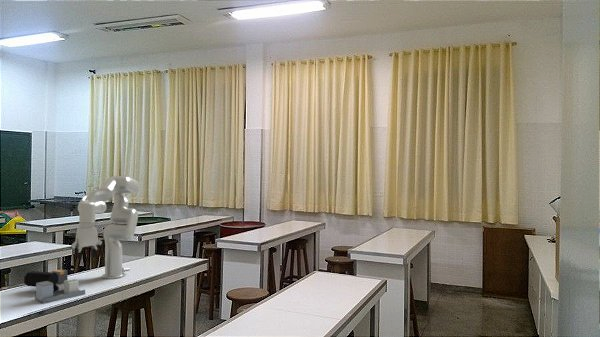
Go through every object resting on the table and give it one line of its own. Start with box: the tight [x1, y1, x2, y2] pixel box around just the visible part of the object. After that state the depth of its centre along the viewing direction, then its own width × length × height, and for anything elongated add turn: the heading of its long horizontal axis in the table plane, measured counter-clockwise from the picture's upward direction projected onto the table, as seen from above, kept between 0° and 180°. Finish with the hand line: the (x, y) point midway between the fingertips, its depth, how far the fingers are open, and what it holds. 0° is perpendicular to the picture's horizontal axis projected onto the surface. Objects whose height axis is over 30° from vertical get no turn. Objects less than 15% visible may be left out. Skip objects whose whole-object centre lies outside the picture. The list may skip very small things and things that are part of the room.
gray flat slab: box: [34, 288, 86, 305], centre depth 213 cm, size 20×10×2 cm, turn 142°
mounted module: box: [35, 281, 53, 301], centre depth 207 cm, size 5×7×8 cm
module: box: [63, 278, 79, 293], centre depth 217 cm, size 5×6×6 cm
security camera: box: [23, 270, 61, 291], centre depth 221 cm, size 7×18×10 cm, turn 78°
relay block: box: [51, 268, 69, 286], centre depth 239 cm, size 5×6×7 cm
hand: (86, 258), depth 223 cm, fingers open, 6 cm apart
